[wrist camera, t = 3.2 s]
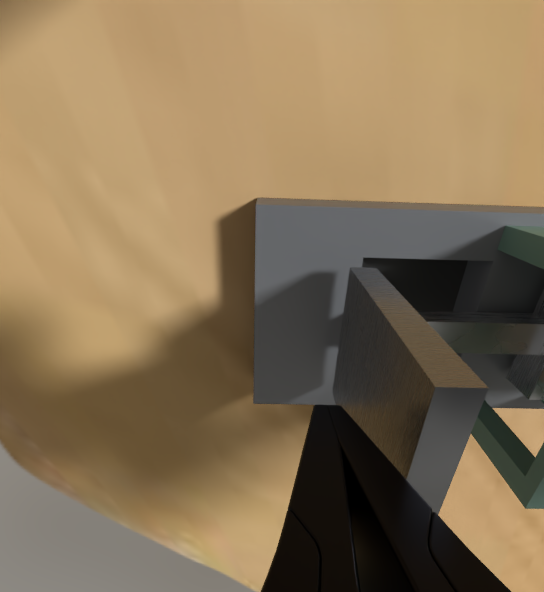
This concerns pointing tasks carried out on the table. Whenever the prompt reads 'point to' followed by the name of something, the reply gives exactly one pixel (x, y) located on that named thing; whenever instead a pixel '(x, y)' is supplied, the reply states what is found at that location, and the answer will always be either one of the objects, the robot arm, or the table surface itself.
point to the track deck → (393, 266)
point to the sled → (425, 375)
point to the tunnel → (489, 426)
